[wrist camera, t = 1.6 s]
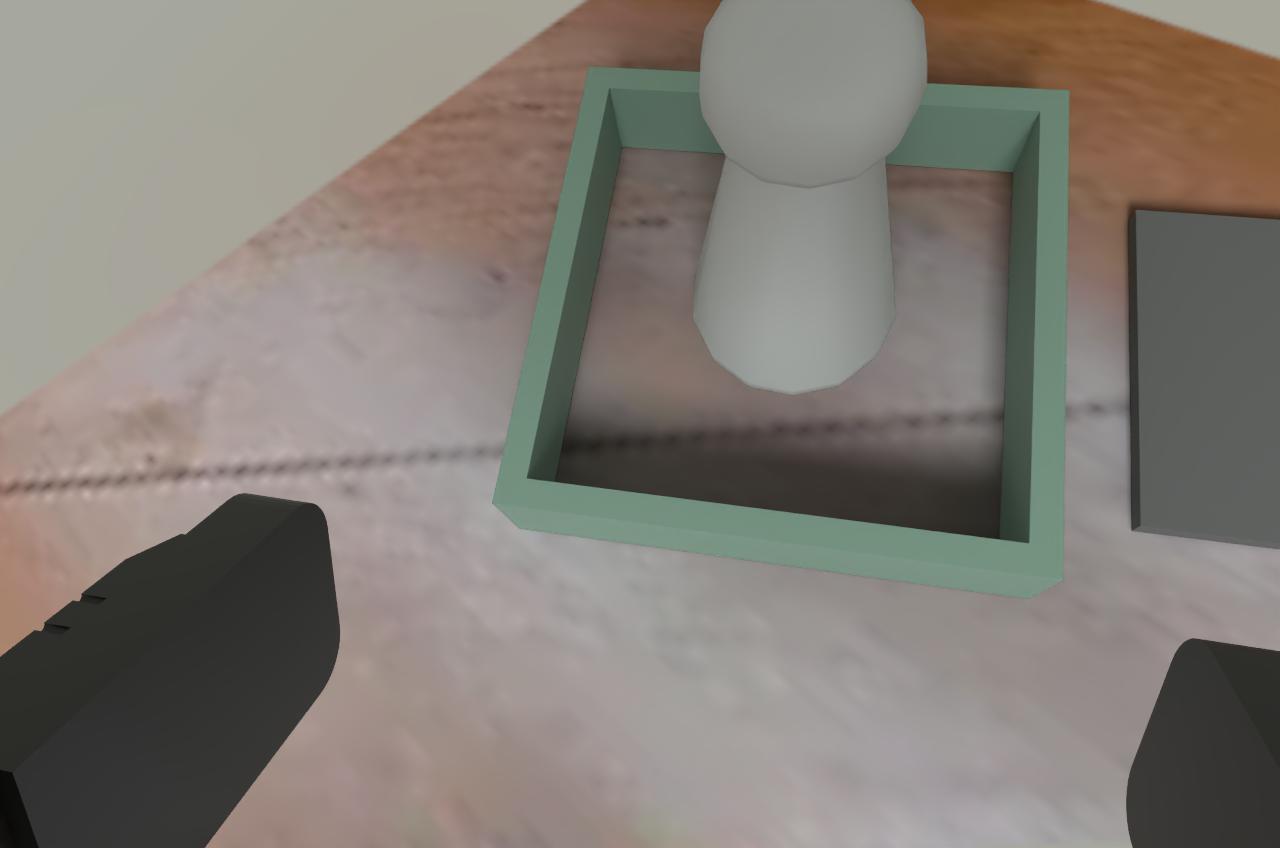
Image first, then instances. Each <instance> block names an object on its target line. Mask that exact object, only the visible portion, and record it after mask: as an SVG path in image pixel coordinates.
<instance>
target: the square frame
mask: <svg viewBox="0 0 1280 848" xmlns="http://www.w3.org/2000/svg"><path fill="white" fill-rule="evenodd" d="M699 85H700V72H692V71H672V70H652V69H632V68H612V67H592V66H589V70H588V74H587V79H586V83H585V88H584V92H583V97H582V101H581V106H580V110H579V115H578V119H577V124H576V128H575V133H574V137H573V142H572V146H571V151H570V155H569V160H568V164H567V169H566V173H565V178H564V182H563V187H562V191H561V196H560V200H559V205H558V209H557V214H556V218H555V223H554V227H553V232H552V236H551V241H550V245H549V250H548V254H547V259H546V263H545V268H544V272H543V277H542V281H541V286H540V290H539V295H538V299H537V304H536V308H535V313H534V317H533V322H532V326H531V331H530V335H529V340H528V344H527V349H526V353H525V358H524V362H523V367H522V371H521V376H520V380H519V385H518V389H517V394H516V398H515V403H514V407H513V412H512V416H511V421H510V425H509V430H508V434H507V439H506V443H505V448H504V452H503V457H502V461H501V466H500V470H499V475H498V479H497V484H496V488H495V493H494V497H493V502H492V503H493V504H494V505H495V506H496V507H497V508H498V509H499V510H500V511H501V512H502V513H503V514H504V515H505V516H507V517H508V518H509V519H510V520H511V521H512V522H513V523H514V524H515V525H516V526H517V527H518V528H520V529H527V530H535V531H542V532H549V533H556V534H563V535H570V536H578V537H585V538H592V539H599V540H606V541H614V542H621V543H628V544H635V545H642V546H650V547H657V548H664V549H671V550H678V551H686V552H693V553H700V554H707V555H714V556H722V557H729V558H736V559H743V560H750V561H758V562H765V563H772V564H779V565H786V566H794V567H801V568H808V569H815V570H822V571H830V572H837V573H844V574H851V575H858V576H865V577H873V578H880V579H887V580H894V581H901V582H909V583H916V584H923V585H930V586H937V587H945V588H952V589H959V590H966V591H973V592H981V593H988V594H995V595H1002V596H1009V597H1017V598H1024V599H1029V598H1031V597H1033V596H1035V595H1036V594H1038V593H1040V592H1042V591H1044V590H1046V589H1047V588H1049V587H1051V586H1053V585H1055V584H1057V583H1059V582H1060V581H1062V580H1063V550H1064V473H1065V395H1066V317H1067V240H1068V162H1069V90H1052V89H1032V88H1012V87H992V86H972V85H952V84H932V83H927V86H926V89H925V92H924V94H923V97H922V100H921V102H920V105H919V108H918V110H917V111H916V113H915V115H914V117H913V119H912V121H911V123H910V124H909V126H908V128H907V130H906V132H905V134H904V136H903V138H902V139H901V141H900V143H899V145H898V146H897V147H896V148H895V149H894V150H893V151H892V152H891V153H890V154H889V155H887V156H886V157H885V164H892V165H907V166H923V167H938V168H954V169H969V170H985V171H1000V172H1013V179H1012V206H1011V234H1010V262H1009V290H1008V317H1007V345H1006V373H1005V401H1004V428H1003V456H1002V484H1001V512H1000V539H991V538H983V537H975V536H968V535H960V534H952V533H944V532H937V531H929V530H921V529H913V528H906V527H898V526H890V525H883V524H875V523H867V522H859V521H852V520H844V519H836V518H828V517H821V516H813V515H805V514H797V513H790V512H782V511H774V510H766V509H759V508H751V507H743V506H736V505H728V504H720V503H712V502H705V501H697V500H689V499H681V498H674V497H666V496H658V495H650V494H643V493H635V492H627V491H620V490H612V489H604V488H596V487H589V486H581V485H573V484H565V483H558V482H555V478H556V473H557V468H558V463H559V458H560V453H561V448H562V443H563V438H564V433H565V428H566V423H567V418H568V414H569V409H570V404H571V399H572V394H573V389H574V384H575V379H576V374H577V369H578V364H579V359H580V354H581V349H582V344H583V339H584V334H585V329H586V324H587V319H588V314H589V309H590V304H591V299H592V294H593V289H594V284H595V279H596V274H597V269H598V264H599V259H600V254H601V249H602V244H603V239H604V234H605V229H606V224H607V219H608V214H609V209H610V205H611V200H612V195H613V190H614V185H615V180H616V175H617V170H618V165H619V160H620V155H621V150H622V147H630V148H645V149H660V150H676V151H691V152H707V153H722V154H724V152H723V150H722V149H721V147H720V145H719V144H718V142H717V140H716V138H715V137H714V135H713V133H712V132H711V130H710V128H709V127H708V125H707V123H706V121H705V120H704V118H703V116H702V110H701V104H700V97H699Z"/></svg>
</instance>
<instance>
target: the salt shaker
mask: <svg viewBox="0 0 1280 848" xmlns="http://www.w3.org/2000/svg"><path fill="white" fill-rule="evenodd" d="M926 86H927V52H926V41H925V29H924V19H923V17H922V16H921V14H920V13H919V12H918V10H917V9H916V7H915V6H914V4H913V3H912V2H911V0H722V2H721V4H720V5H719V7H718V9H717V10H716V12H715V14H714V15H713V17H712V19H711V20H710V22H709V24H708V25H707V27H706V29H705V32H704V38H703V44H702V50H701V63H700V85H699V97H700V104H701V110H702V116H703V118H704V120H705V121H706V123H707V125H708V127H709V128H710V130H711V132H712V133H713V135H714V137H715V138H716V140H717V142H718V144H719V145H720V147H721V149H722V150H723V152H724V154H725V155H726V158H725V162H724V166H723V170H722V174H721V178H720V181H719V185H718V189H717V193H716V197H715V201H714V205H713V209H712V213H711V216H710V220H709V224H708V228H707V232H706V236H705V240H704V244H703V248H702V251H701V255H700V259H699V263H698V267H697V271H696V275H695V280H694V311H693V319H694V321H695V323H696V325H697V327H698V329H699V331H700V333H701V335H702V337H703V339H704V341H705V343H706V345H707V347H708V349H709V351H710V353H711V355H712V357H713V359H714V361H715V362H716V363H718V364H719V365H720V366H722V367H723V368H724V369H726V370H727V371H728V372H730V373H731V374H733V375H734V376H735V377H737V378H738V379H739V380H741V381H742V382H743V383H745V384H746V385H747V386H749V387H752V388H756V389H763V390H767V391H772V392H777V393H782V394H787V395H792V396H793V395H798V394H803V393H808V392H813V391H818V390H823V389H828V388H833V387H838V386H839V385H840V384H842V383H843V382H844V381H845V380H847V379H848V378H849V377H851V376H852V375H853V374H854V373H856V372H857V371H858V370H860V369H861V368H862V367H864V366H865V365H866V364H867V363H869V362H870V361H871V360H872V359H873V358H874V357H875V356H876V354H877V352H878V351H879V349H880V347H881V345H882V343H883V341H884V339H885V337H886V335H887V333H888V331H889V329H890V327H891V326H892V324H893V322H894V320H895V318H896V303H895V289H894V275H893V261H892V248H891V234H890V220H889V206H888V192H887V178H886V164H885V157H886V156H887V155H889V154H890V153H891V152H892V151H893V150H894V149H895V148H896V147H897V146H898V145H899V143H900V141H901V139H902V138H903V136H904V134H905V132H906V130H907V128H908V126H909V124H910V123H911V121H912V119H913V117H914V115H915V113H916V111H917V110H918V108H919V105H920V102H921V100H922V97H923V94H924V92H925V89H926Z"/></svg>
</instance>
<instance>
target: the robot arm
mask: <svg viewBox="0 0 1280 848" xmlns="http://www.w3.org/2000/svg"><path fill="white" fill-rule="evenodd" d="M44 624H45V625H44V628H43V630H42V631H36V630H34V631H33V632H32V633H30V634H29V635H28V636H26V637H25V638H24V639H23V640H21V641H20V642H19V643H17V644H16V645H15V646H14V647H12V648H11V649H10V650H8V651H7V652H6V653H5V654H3V655H2V656H1V657H0V848H205V847H206V845H207V844H208V843H209V841H210V840H211V839H212V837H213V836H214V835H215V833H216V832H217V831H218V829H219V828H220V827H221V825H222V824H223V823H224V821H225V820H226V819H227V817H228V816H229V815H230V813H231V812H232V811H233V809H234V808H235V807H236V805H237V804H238V803H239V801H240V800H241V799H242V797H243V796H244V795H245V793H246V792H247V791H248V789H249V788H250V787H251V785H252V784H253V783H254V781H255V780H256V779H257V777H258V776H259V775H260V773H261V772H262V771H263V769H264V768H265V767H266V765H267V764H268V763H269V761H270V760H271V759H272V757H273V756H274V755H275V753H276V752H277V751H278V749H279V748H280V747H281V745H282V744H283V743H284V741H285V740H286V739H287V738H288V736H289V735H290V734H291V732H292V731H293V730H294V728H295V727H296V726H297V724H298V723H299V722H300V720H301V719H302V718H303V716H304V715H305V714H306V712H307V711H308V710H309V708H310V707H311V706H312V704H313V703H314V702H315V700H316V699H317V698H318V696H319V695H320V694H321V692H322V691H323V689H324V688H325V686H326V684H327V682H328V680H329V678H330V676H331V674H332V671H333V668H334V665H335V662H336V658H337V654H338V649H339V642H340V624H339V616H338V608H337V599H336V591H335V583H334V575H333V567H332V558H331V550H330V542H329V534H328V526H327V521H326V518H325V515H324V513H323V511H322V510H321V509H320V508H319V506H317V505H315V504H312V503H306V502H300V501H293V500H286V499H280V498H273V497H267V496H260V495H253V494H247V493H243V494H238V495H236V496H233V497H232V498H230V499H229V500H228V501H226V502H225V503H224V504H223V505H221V506H220V507H219V508H218V509H216V510H215V511H214V512H213V513H212V514H210V515H209V516H208V517H207V518H205V519H204V520H203V521H202V522H200V523H199V524H198V525H197V526H196V527H194V528H193V529H192V530H191V531H189V532H188V533H187V534H186V535H184V534H180V535H178V536H175V537H173V538H171V539H169V540H167V541H165V542H162V543H160V544H158V545H156V546H154V547H152V548H149V549H147V550H145V551H143V552H141V553H139V554H136V555H134V556H132V557H130V558H128V559H126V560H124V561H123V562H122V563H120V564H119V565H118V566H116V567H115V568H114V569H113V570H111V571H110V572H109V573H107V574H106V575H105V576H104V577H102V578H101V579H100V580H98V581H97V582H96V583H95V584H93V585H92V586H91V587H89V588H88V589H87V590H86V591H84V592H83V593H82V597H81V600H80V601H79V602H78V601H71V602H70V603H69V604H68V605H66V606H65V607H64V608H62V609H61V610H60V611H59V612H57V613H56V614H55V615H53V616H52V617H51V618H50V619H48V620H47V621H46V622H44ZM1126 811H1127V823H1128V830H1129V835H1130V840H1131V843H1132V846H1133V848H1280V651H1274V650H1268V649H1261V648H1254V647H1248V646H1241V645H1235V644H1228V643H1221V642H1215V641H1208V640H1201V639H1194V638H1193V639H1189V640H1187V641H1185V642H1184V643H1183V644H1182V645H1181V646H1180V647H1179V648H1178V650H1177V652H1176V653H1175V655H1174V657H1173V660H1172V662H1171V665H1170V667H1169V670H1168V672H1167V675H1166V678H1165V680H1164V683H1163V686H1162V688H1161V691H1160V693H1159V696H1158V699H1157V701H1156V704H1155V707H1154V709H1153V712H1152V714H1151V717H1150V720H1149V722H1148V725H1147V728H1146V730H1145V733H1144V735H1143V738H1142V741H1141V743H1140V746H1139V749H1138V751H1137V754H1136V756H1135V759H1134V762H1133V764H1132V767H1131V771H1130V775H1129V779H1128V786H1127V797H1126Z"/></svg>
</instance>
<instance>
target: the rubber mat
mask: <svg viewBox="0 0 1280 848" xmlns="http://www.w3.org/2000/svg"><path fill="white" fill-rule="evenodd" d="M1128 231H1129V315H1130V399H1131V483H1132V531H1137V532H1145V533H1154V534H1162V535H1170V536H1178V537H1186V538H1194V539H1202V540H1210V541H1218V542H1226V543H1234V544H1242V545H1250V546H1258V547H1266V548H1274V549H1280V220H1276V219H1262V218H1248V217H1233V216H1219V215H1205V214H1190V213H1176V212H1162V211H1147V210H1135V212H1134V213H1133V215H1132V216H1131V217H1130V219H1129V220H1128Z"/></svg>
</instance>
